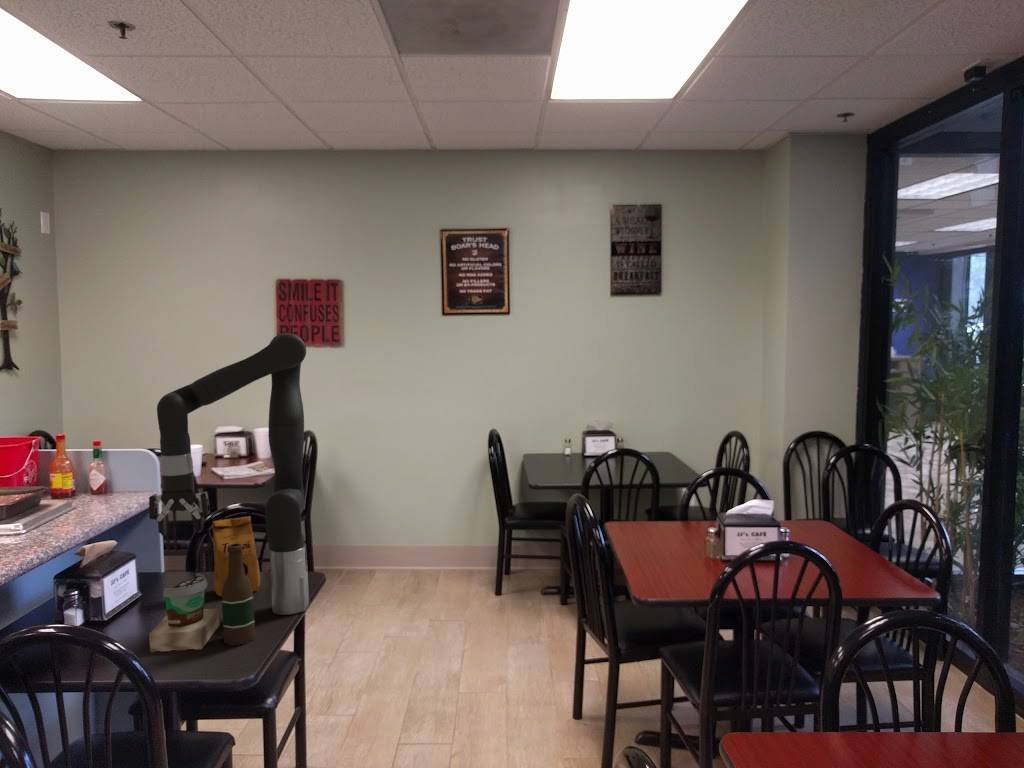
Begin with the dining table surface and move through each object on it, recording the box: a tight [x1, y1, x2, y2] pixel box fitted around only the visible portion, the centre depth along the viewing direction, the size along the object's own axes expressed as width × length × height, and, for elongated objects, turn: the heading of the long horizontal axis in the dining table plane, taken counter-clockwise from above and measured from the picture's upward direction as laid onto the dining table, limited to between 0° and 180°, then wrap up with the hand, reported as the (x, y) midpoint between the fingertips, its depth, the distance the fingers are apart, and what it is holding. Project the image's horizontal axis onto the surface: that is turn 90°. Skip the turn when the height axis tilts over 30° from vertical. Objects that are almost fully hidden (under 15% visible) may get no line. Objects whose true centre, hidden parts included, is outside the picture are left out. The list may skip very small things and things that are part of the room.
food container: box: [162, 572, 209, 627], centre depth 184 cm, size 12×6×10 cm, turn 163°
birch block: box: [148, 608, 220, 653], centre depth 185 cm, size 12×14×5 cm
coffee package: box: [211, 515, 261, 597], centre depth 216 cm, size 10×12×22 cm
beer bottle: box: [221, 543, 256, 646], centre depth 183 cm, size 8×8×24 cm
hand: (181, 533), depth 190 cm, fingers open, 8 cm apart
